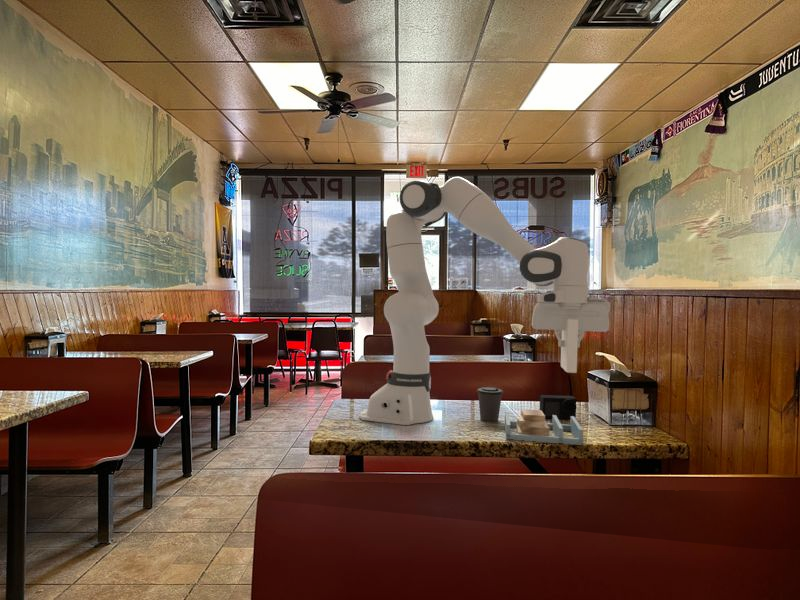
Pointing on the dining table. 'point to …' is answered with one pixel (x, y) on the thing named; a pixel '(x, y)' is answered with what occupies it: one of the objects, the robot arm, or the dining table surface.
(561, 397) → the digital camera
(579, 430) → the slotted rack
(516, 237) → the robot arm
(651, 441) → the dining table surface
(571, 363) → the white flat slab
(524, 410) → the offcut stack
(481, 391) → the coffee cup
